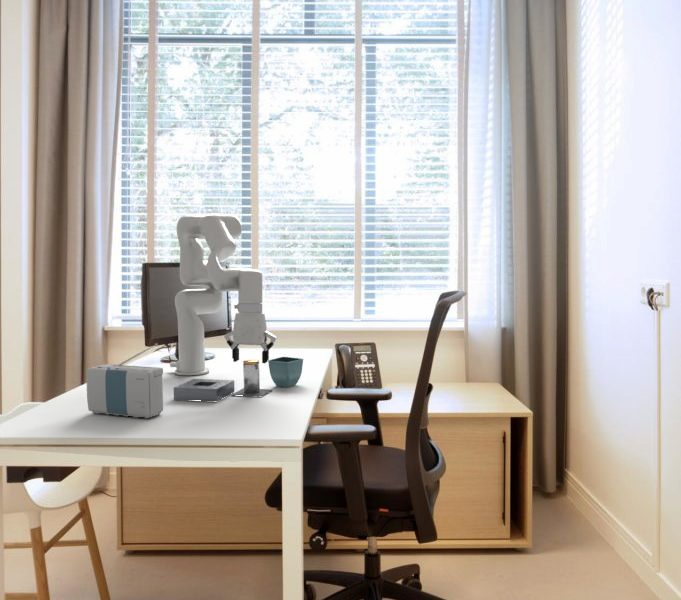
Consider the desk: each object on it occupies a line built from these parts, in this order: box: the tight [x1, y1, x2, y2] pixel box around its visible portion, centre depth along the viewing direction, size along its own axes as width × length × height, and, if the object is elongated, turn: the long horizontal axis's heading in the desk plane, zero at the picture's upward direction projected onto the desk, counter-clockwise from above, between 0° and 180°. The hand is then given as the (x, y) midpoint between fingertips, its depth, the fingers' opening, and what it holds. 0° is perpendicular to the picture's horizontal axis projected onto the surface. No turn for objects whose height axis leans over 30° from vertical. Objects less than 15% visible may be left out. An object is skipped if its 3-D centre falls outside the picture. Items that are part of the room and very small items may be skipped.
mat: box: [231, 387, 273, 397], centre depth 199 cm, size 10×10×1 cm
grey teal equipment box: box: [86, 342, 164, 419], centre depth 173 cm, size 21×8×20 cm, turn 69°
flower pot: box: [267, 356, 304, 388], centre depth 211 cm, size 9×9×9 cm
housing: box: [173, 378, 235, 402], centre depth 195 cm, size 14×14×4 cm
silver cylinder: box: [242, 359, 261, 394], centre depth 199 cm, size 5×5×10 cm
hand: (250, 361), depth 199 cm, fingers open, 9 cm apart
